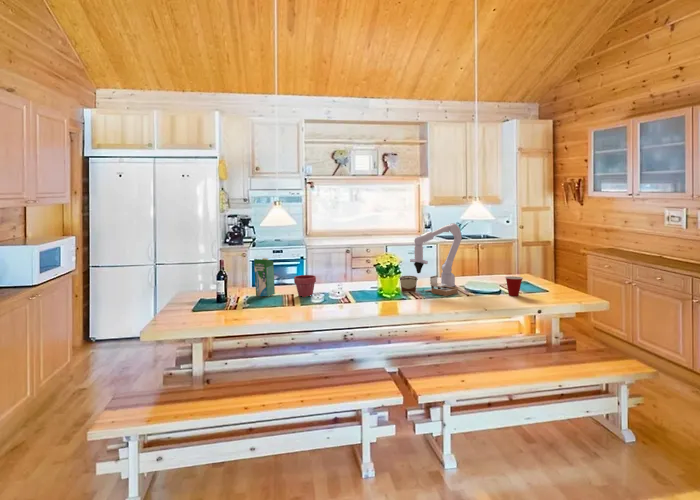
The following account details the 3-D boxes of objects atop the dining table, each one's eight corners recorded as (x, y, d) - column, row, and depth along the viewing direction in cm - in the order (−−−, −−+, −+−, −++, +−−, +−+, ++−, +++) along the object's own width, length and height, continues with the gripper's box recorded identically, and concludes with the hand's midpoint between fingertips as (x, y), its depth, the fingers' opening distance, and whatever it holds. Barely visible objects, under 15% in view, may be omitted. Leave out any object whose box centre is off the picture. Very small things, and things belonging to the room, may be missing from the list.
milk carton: (274, 294, 324) (273, 257, 320) (267, 297, 316) (265, 259, 312) (263, 293, 327) (262, 256, 324) (255, 295, 319) (254, 258, 316)
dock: (433, 289, 330) (433, 283, 330) (457, 293, 315) (457, 288, 314) (421, 291, 323) (421, 286, 322) (446, 296, 307) (446, 291, 307)
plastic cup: (522, 293, 308) (523, 275, 306) (522, 297, 298) (523, 278, 296) (504, 293, 312) (505, 274, 310) (504, 296, 301) (504, 278, 300)
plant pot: (304, 292, 327) (303, 273, 325) (320, 294, 319) (320, 275, 317) (290, 296, 315) (289, 277, 314) (306, 299, 307) (306, 279, 305)
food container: (417, 290, 326) (417, 275, 325) (417, 292, 320) (417, 277, 319) (399, 290, 327) (399, 275, 326) (399, 292, 321) (399, 277, 320)
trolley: (436, 286, 325) (436, 275, 324) (447, 288, 318) (447, 277, 317) (429, 287, 320) (429, 276, 319) (440, 289, 313) (440, 278, 312)
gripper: (407, 253, 338) (407, 272, 339) (422, 255, 326) (422, 275, 328) (413, 252, 342) (414, 271, 344) (429, 254, 331) (429, 273, 333)
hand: (418, 273), depth 336 cm, fingers closed
